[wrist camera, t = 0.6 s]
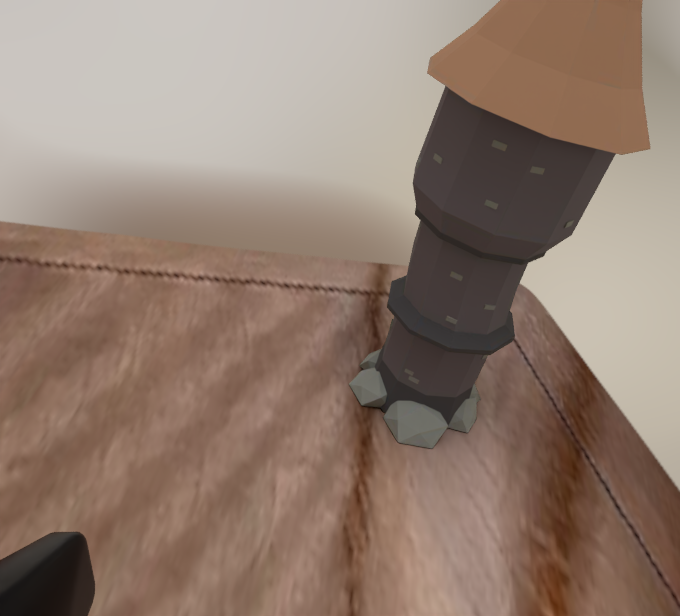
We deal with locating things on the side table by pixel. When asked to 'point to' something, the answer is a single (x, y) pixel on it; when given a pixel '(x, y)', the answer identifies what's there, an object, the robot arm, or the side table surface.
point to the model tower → (501, 192)
